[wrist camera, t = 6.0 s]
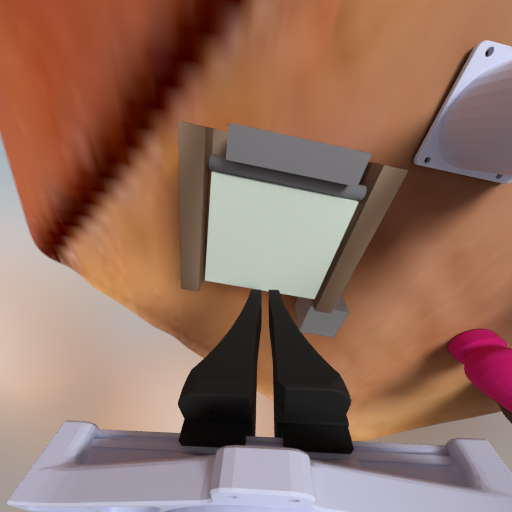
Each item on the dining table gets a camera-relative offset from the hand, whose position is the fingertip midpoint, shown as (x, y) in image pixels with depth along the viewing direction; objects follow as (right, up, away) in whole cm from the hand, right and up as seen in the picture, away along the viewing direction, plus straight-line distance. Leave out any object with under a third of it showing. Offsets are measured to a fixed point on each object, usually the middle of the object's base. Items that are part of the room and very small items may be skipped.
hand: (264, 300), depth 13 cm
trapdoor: (+1, +6, +2) cm, 6 cm away
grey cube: (+8, -3, +13) cm, 15 cm away
